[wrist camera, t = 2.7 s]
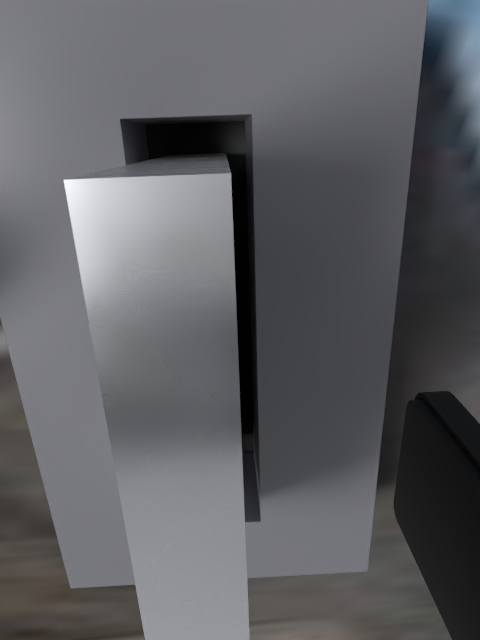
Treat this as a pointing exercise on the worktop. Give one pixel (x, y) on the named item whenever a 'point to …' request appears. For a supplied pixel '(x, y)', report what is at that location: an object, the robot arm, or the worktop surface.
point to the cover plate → (170, 382)
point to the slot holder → (263, 244)
